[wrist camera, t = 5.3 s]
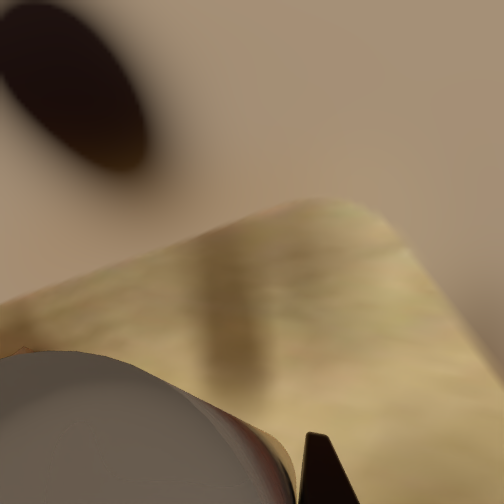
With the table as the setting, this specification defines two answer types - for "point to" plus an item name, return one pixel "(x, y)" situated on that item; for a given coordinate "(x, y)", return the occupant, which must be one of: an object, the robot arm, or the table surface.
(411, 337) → the table surface
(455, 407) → the table surface
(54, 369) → the steel pin
